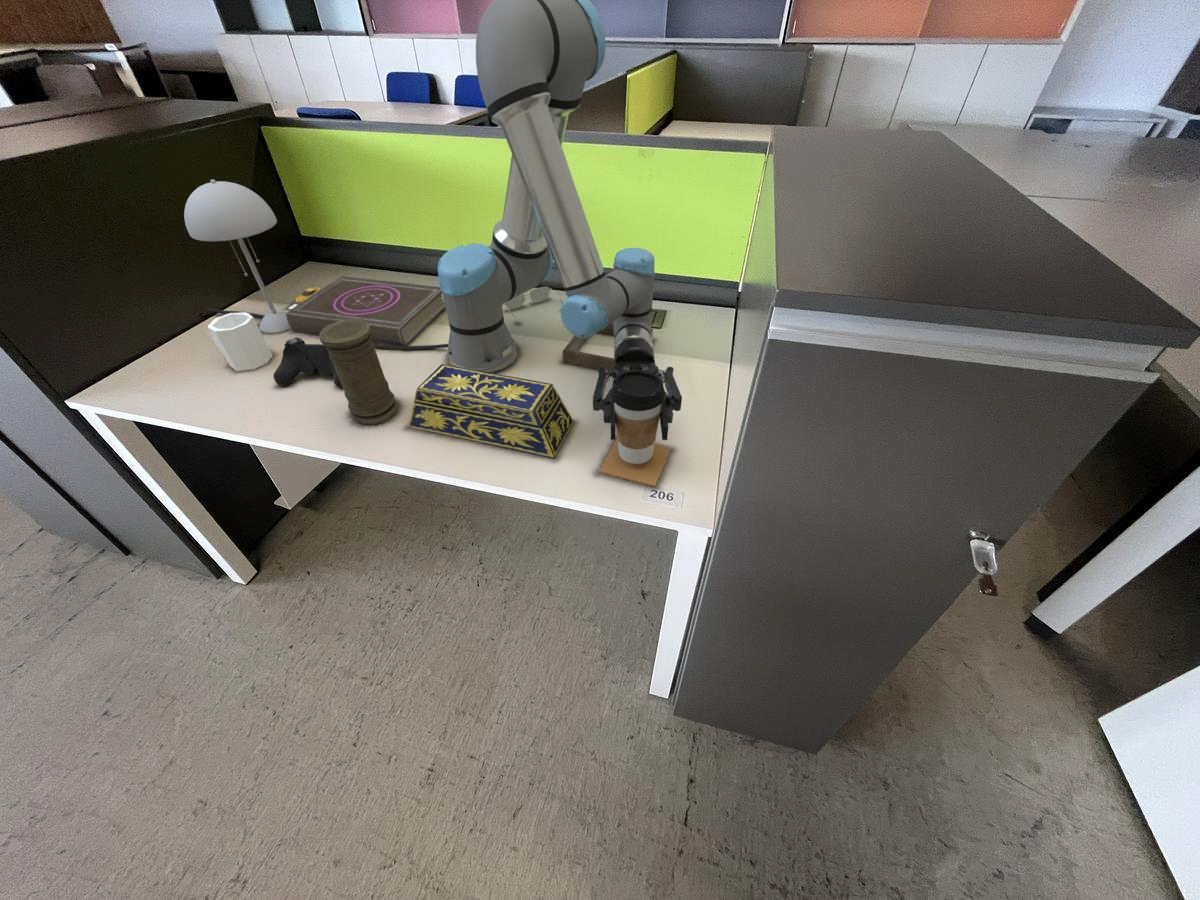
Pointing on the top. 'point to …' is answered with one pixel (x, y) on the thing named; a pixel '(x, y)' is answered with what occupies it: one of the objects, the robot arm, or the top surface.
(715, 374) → the top surface
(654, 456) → the coaster
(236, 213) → the lamp
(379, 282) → the book
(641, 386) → the coffee cup
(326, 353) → the game controller
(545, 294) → the eyeglasses
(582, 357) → the wooden square frame
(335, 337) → the container
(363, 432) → the top surface
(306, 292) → the toy car
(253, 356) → the mug
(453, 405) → the decorative box
